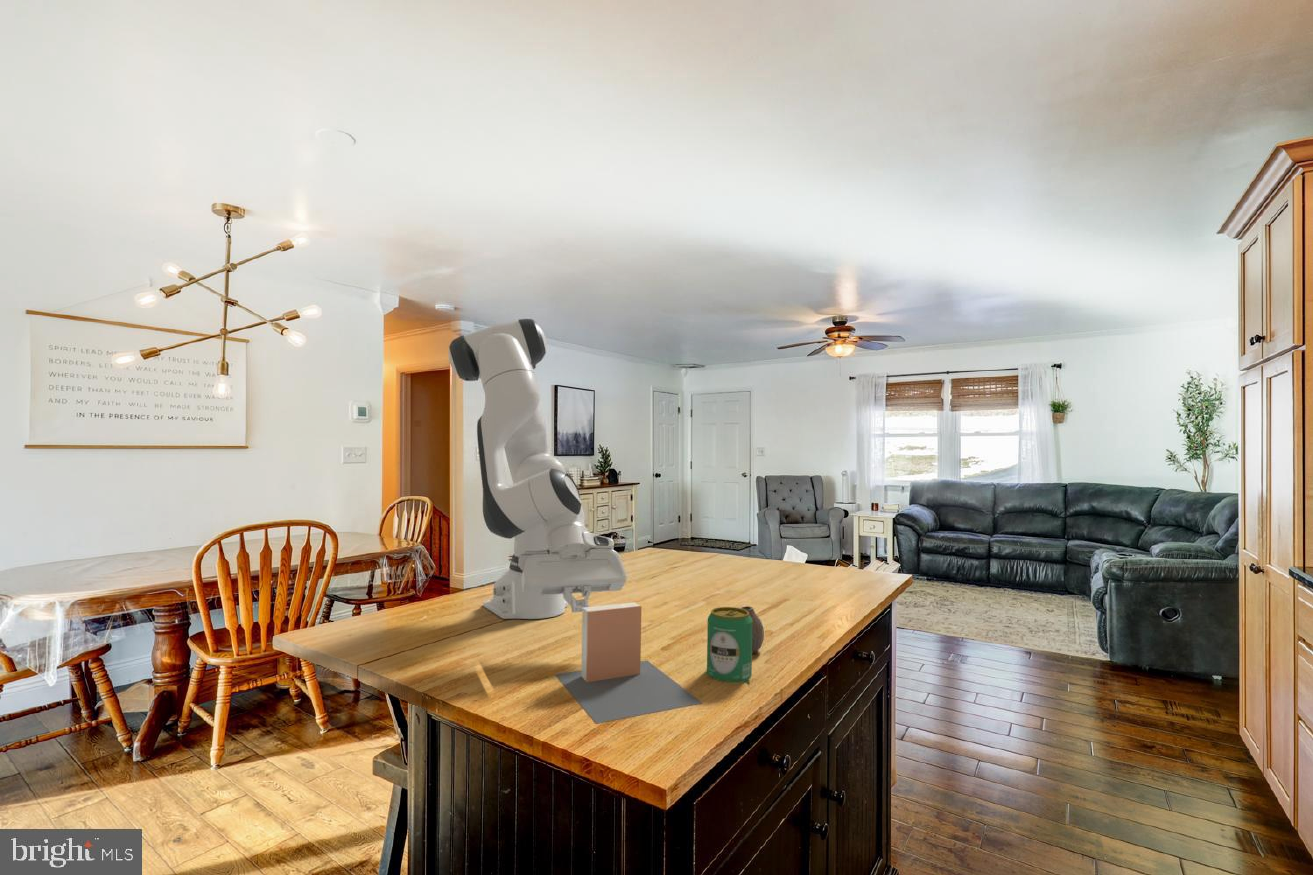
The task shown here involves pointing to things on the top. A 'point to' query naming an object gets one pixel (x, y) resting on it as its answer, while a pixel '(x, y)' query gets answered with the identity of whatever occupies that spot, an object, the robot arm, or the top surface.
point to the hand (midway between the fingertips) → (580, 610)
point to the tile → (611, 641)
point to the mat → (627, 694)
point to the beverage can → (729, 644)
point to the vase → (755, 629)
